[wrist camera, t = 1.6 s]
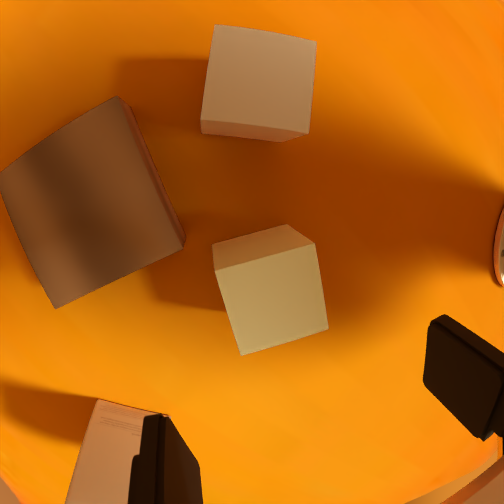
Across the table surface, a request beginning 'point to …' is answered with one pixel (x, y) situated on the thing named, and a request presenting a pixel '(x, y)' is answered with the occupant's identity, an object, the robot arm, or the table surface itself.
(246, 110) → the grey block
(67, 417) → the table surface
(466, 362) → the robot arm
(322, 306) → the beige block
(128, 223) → the walnut base
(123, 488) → the supplement box
